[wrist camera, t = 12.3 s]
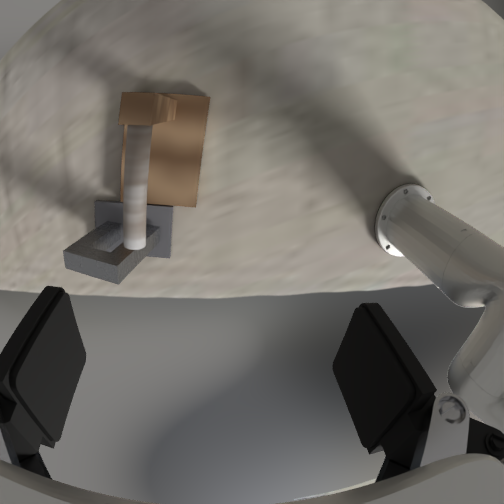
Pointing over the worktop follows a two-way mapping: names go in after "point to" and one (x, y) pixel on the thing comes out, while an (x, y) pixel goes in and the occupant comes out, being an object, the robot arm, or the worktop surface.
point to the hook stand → (159, 155)
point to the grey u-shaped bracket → (108, 253)
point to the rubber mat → (154, 216)
